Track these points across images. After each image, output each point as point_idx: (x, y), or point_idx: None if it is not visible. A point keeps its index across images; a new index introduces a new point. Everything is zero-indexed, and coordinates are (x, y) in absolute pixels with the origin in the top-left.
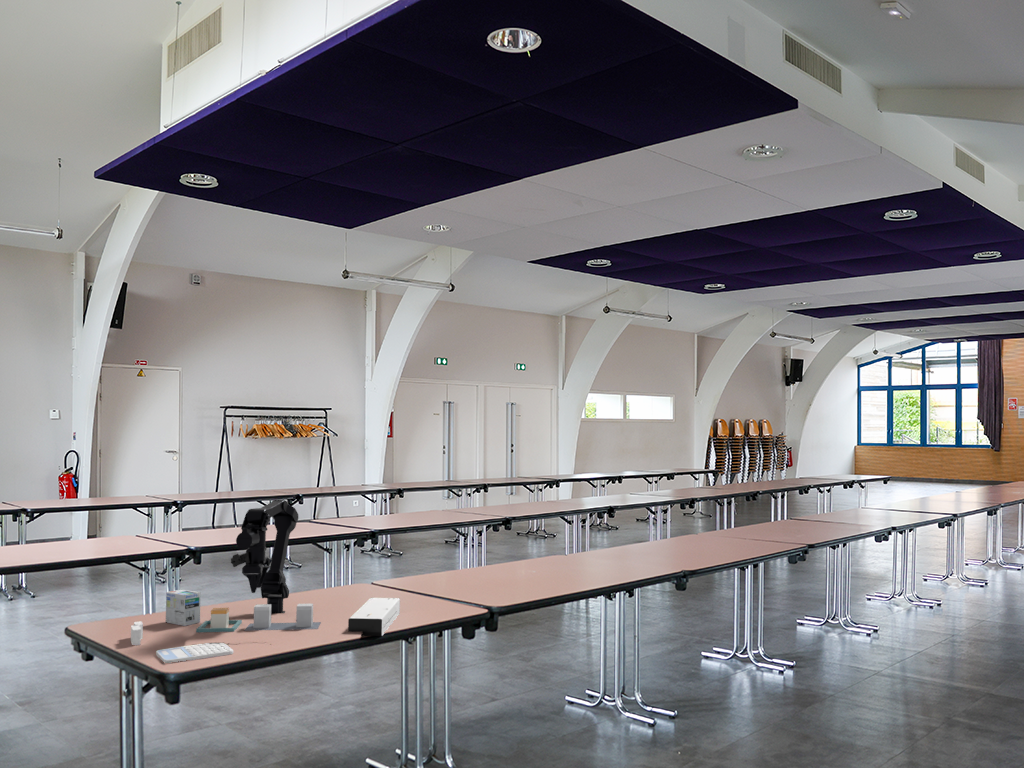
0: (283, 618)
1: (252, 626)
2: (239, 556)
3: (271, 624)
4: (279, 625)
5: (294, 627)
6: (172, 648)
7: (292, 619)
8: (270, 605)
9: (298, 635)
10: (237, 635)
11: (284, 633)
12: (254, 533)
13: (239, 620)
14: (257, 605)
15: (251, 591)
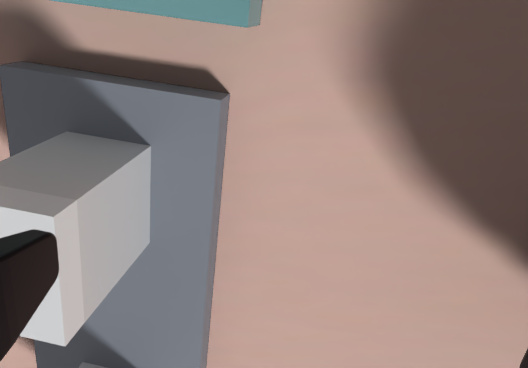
0: (480, 317)
1: (117, 122)
2: None
3: (165, 246)
4: (131, 288)
5: (79, 354)
6: None
7: (423, 360)
8: (23, 334)
9: (25, 344)
10: (14, 14)
11: None
12: None
13: (230, 6)
14: (6, 227)
15: (10, 236)
